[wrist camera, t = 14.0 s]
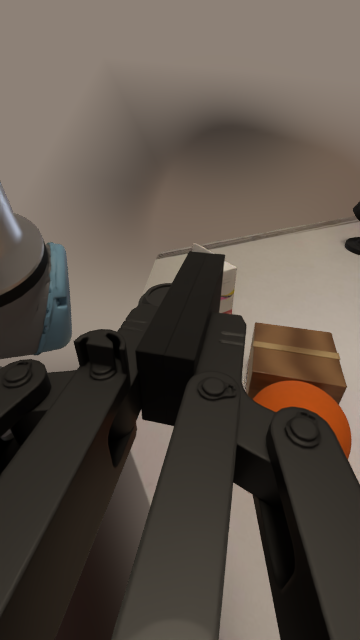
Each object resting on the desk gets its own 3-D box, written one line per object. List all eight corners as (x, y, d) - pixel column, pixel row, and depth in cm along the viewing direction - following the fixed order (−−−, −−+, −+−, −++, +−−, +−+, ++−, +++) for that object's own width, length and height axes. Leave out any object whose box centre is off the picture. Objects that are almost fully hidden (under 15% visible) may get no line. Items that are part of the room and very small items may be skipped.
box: (243, 412, 42) (251, 370, 37) (247, 360, 51) (254, 321, 46) (328, 428, 40) (348, 386, 35) (317, 371, 49) (332, 332, 44)
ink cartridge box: (232, 320, 60) (240, 251, 52) (212, 328, 58) (218, 257, 50) (207, 302, 66) (211, 237, 58) (188, 308, 64) (190, 241, 56)
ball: (229, 487, 30) (240, 377, 31) (248, 453, 40) (255, 371, 41) (355, 525, 26) (364, 396, 26) (340, 476, 36) (347, 384, 37)
